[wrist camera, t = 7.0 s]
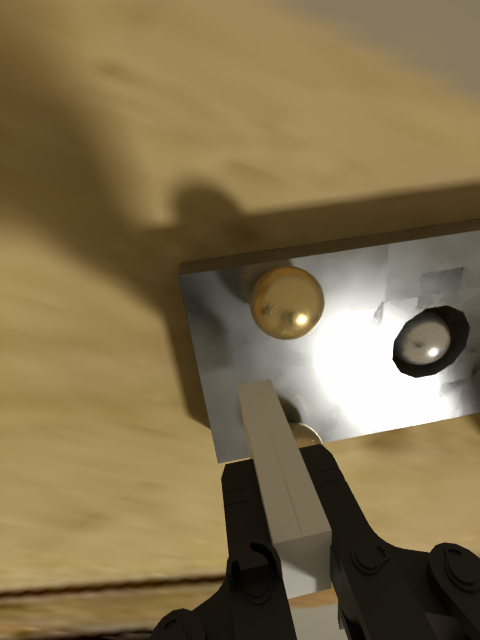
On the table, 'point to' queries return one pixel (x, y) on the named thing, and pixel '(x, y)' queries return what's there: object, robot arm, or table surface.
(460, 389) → the bearing plate
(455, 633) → the robot arm
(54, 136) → the table surface
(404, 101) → the table surface
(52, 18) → the table surface
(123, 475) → the table surface
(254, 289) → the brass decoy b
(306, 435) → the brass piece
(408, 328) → the steel ball
